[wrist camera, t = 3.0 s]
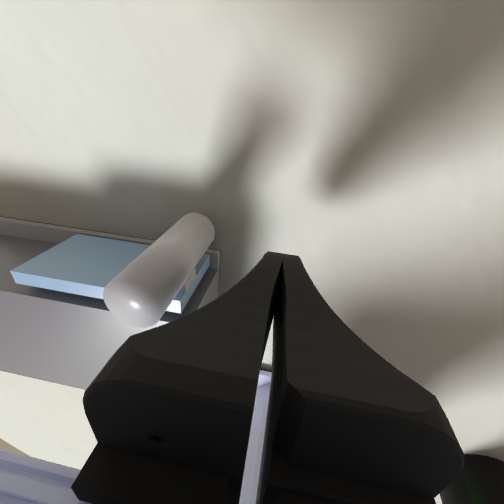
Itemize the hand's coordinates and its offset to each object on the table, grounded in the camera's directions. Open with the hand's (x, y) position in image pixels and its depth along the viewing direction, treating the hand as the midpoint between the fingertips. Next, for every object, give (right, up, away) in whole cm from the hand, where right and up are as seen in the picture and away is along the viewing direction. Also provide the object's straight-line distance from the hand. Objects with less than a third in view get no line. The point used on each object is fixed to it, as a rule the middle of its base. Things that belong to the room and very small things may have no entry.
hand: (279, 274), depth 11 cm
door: (-7, +2, +4) cm, 9 cm away
